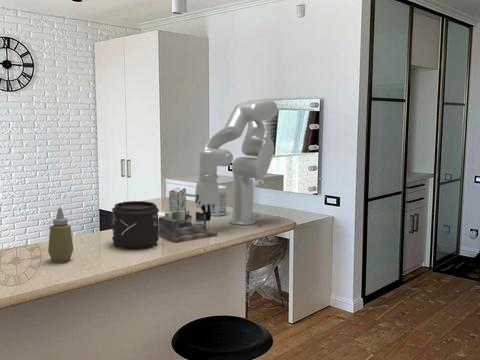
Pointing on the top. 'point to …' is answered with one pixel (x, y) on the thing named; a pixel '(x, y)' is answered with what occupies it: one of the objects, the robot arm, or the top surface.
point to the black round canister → (135, 225)
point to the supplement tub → (220, 203)
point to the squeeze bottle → (60, 239)
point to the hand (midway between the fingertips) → (206, 220)
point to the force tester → (181, 228)
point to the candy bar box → (177, 200)
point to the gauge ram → (195, 220)
